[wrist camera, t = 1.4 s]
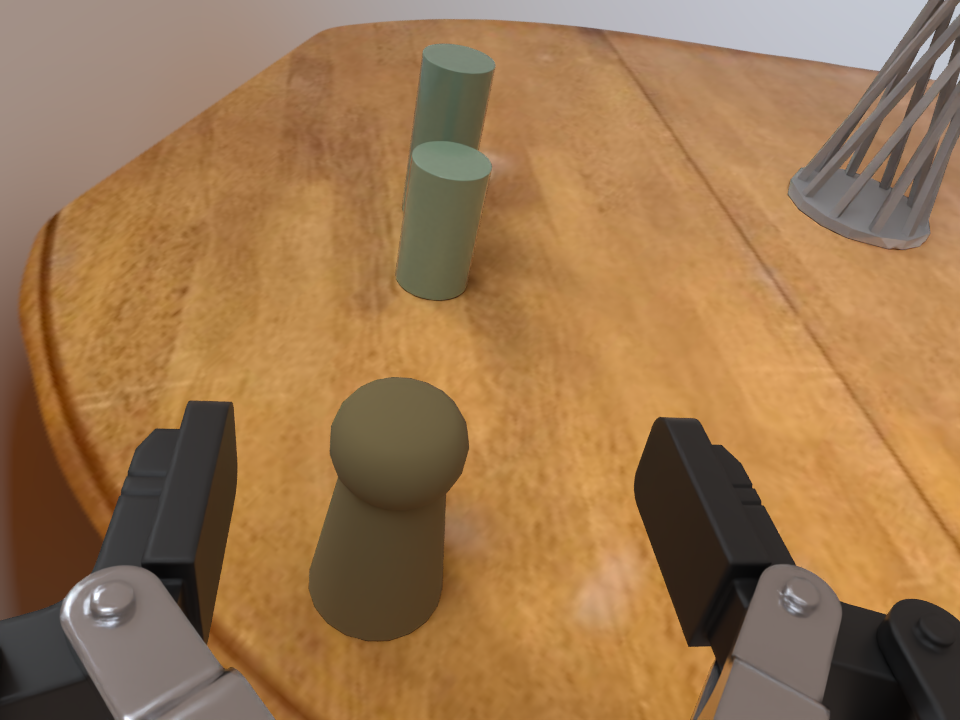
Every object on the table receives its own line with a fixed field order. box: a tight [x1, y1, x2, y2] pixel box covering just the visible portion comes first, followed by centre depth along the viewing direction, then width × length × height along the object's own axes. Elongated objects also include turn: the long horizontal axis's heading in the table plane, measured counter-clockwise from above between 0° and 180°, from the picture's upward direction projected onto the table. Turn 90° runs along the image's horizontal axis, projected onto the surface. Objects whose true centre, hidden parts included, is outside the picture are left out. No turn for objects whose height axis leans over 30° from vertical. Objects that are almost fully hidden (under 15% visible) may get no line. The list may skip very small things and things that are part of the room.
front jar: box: [395, 141, 492, 300], centre depth 50 cm, size 5×5×9 cm
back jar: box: [402, 44, 495, 212], centre depth 56 cm, size 5×5×12 cm
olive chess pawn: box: [309, 377, 469, 641], centre depth 31 cm, size 6×6×11 cm
